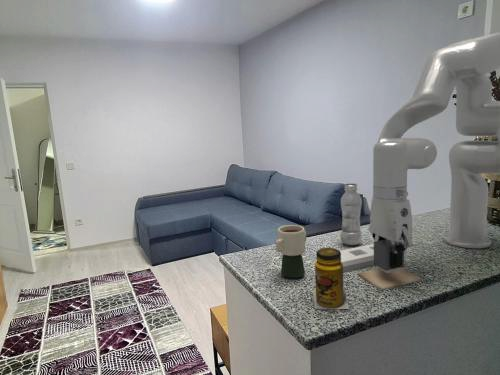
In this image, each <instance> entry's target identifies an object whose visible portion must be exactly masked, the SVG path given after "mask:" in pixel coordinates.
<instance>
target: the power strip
mask: <svg viewBox="0 0 500 375" xmlns="http://www.w3.org/2000/svg"><path fill="white" fill-rule="evenodd" d="M339 251H340V252H341V262H342V264H343V273H347V272H351V271H354V270H359V269H364V268H369V267H372V266H375V265H374V243H372V244H367V245H361V246H356V247H352V248H348V249H343V250H339Z"/></svg>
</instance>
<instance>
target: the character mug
mask: <svg viewBox="0 0 500 375" xmlns="http://www.w3.org/2000/svg"><path fill="white" fill-rule="evenodd" d="M306 242H307V232H306V230H305V227H304V226H302V225H297V224H289V225H287V224H286V225H281V226H279V227H278V228H277V239H276V241H275V250H276V253H280V254H282V257H281V267H280V268H281V270H280V272H281V275H282V276H284V277H288V278H295V279H296V278H301V277H303V276H304V275H305V273H306V272H305V265H304V260H303V256H302V255H303V254H305V252H306Z"/></svg>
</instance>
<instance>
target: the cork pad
mask: <svg viewBox="0 0 500 375" xmlns="http://www.w3.org/2000/svg"><path fill="white" fill-rule="evenodd" d="M357 276H358V277H360V278H362V279H363V280H365V281H366V282H368V283H369V284H370V285H373V286H374V287H376V288H377V289H379V290H381V291H383V290H388V289H393V288H395V287H400V286H403V285H407V284H412V283H414V282H419V281H422V277H420V276H418V275H416V274H415V273H412V272H411V271H408V270H406V269H404V268H403V267H400V268H398V271H394V272H390V273H386V272H384V271H382V270H381V269H379V267H378V268H375V269H370V270H366V271H362V272H357Z"/></svg>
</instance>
